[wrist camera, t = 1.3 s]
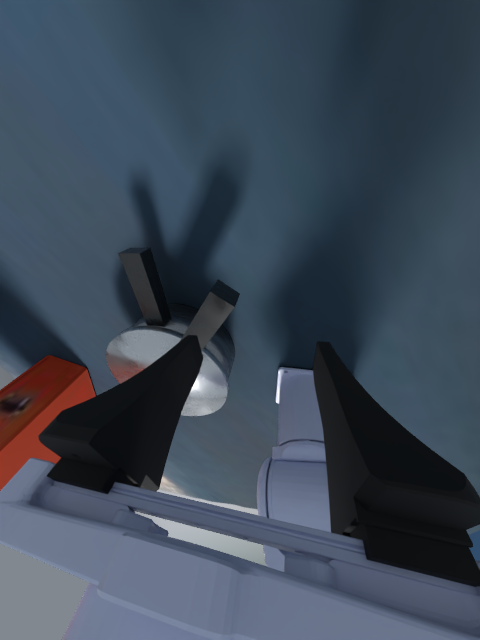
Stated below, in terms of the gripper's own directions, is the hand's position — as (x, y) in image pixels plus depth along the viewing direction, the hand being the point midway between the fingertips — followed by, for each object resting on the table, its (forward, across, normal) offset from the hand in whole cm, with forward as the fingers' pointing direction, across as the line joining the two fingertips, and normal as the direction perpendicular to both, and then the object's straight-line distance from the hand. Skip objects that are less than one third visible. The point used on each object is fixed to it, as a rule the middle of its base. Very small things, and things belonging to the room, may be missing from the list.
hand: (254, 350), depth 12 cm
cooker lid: (+5, +9, +7) cm, 13 cm away
